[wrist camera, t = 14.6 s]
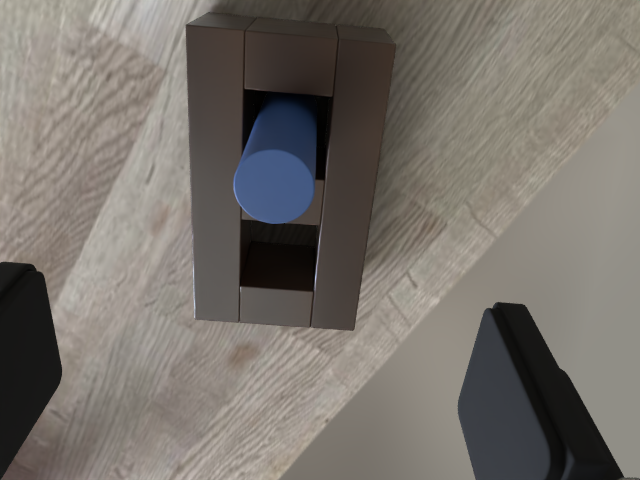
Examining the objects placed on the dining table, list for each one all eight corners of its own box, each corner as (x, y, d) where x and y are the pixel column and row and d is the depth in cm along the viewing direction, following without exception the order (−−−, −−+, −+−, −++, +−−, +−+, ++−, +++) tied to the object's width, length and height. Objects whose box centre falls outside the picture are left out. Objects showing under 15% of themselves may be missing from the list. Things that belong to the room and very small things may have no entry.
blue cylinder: (319, 83, 29) (318, 152, 19) (315, 137, 30) (311, 227, 20) (263, 78, 29) (233, 145, 19) (261, 133, 30) (232, 221, 20)
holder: (384, 28, 27) (396, 44, 23) (350, 283, 35) (354, 331, 30) (207, 12, 27) (185, 24, 23) (210, 272, 34) (194, 319, 30)
